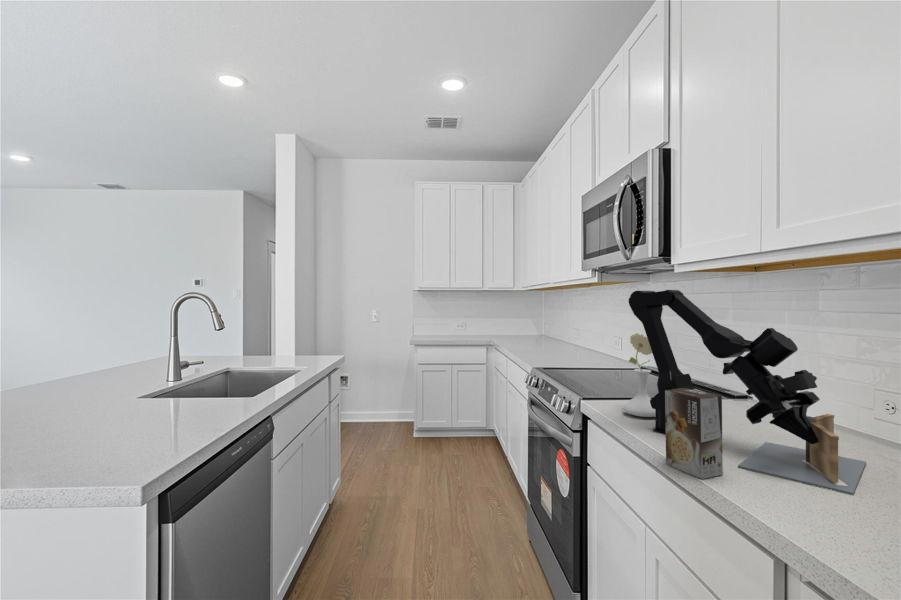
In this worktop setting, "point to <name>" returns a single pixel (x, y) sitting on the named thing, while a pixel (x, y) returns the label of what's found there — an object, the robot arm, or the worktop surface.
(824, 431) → the fence panel
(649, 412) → the flower in vase
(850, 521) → the worktop surface
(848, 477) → the mat
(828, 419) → the fence fixed
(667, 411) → the coffee box
